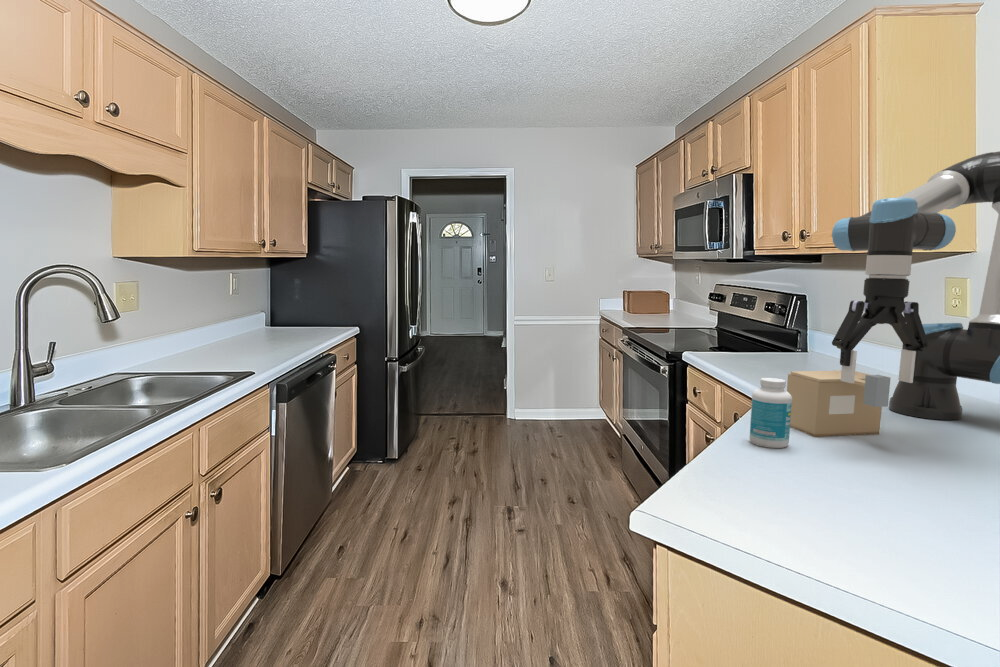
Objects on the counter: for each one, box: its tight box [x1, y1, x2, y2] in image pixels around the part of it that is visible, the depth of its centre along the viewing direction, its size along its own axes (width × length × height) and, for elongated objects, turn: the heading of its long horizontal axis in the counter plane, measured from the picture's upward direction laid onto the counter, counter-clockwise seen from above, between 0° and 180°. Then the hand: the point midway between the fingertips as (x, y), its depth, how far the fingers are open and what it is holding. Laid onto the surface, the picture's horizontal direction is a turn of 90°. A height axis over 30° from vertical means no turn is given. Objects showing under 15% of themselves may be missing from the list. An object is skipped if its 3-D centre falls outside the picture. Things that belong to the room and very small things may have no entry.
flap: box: [790, 370, 891, 408], centre depth 125 cm, size 16×18×6 cm
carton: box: [786, 373, 883, 438], centre depth 130 cm, size 16×10×12 cm, turn 100°
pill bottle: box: [749, 377, 792, 449], centre depth 119 cm, size 8×7×14 cm
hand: (876, 382), depth 118 cm, fingers open, 13 cm apart
